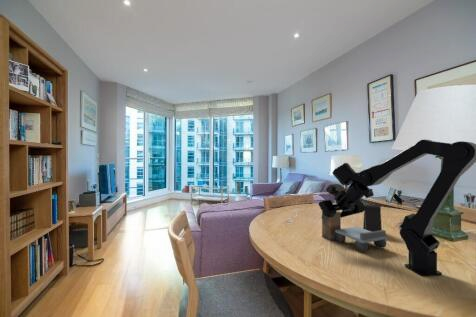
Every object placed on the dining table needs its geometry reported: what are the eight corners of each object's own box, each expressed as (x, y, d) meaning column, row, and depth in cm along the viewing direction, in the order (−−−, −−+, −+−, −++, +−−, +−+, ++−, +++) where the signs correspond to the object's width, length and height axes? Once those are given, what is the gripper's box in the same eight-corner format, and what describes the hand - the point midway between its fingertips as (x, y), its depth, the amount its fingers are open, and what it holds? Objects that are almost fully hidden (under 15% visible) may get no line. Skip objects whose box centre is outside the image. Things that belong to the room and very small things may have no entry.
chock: (340, 239, 99) (340, 212, 99) (330, 240, 97) (330, 213, 97) (331, 235, 104) (331, 209, 104) (322, 236, 102) (322, 210, 102)
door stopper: (382, 236, 102) (382, 207, 102) (365, 235, 104) (366, 206, 104) (378, 230, 110) (378, 203, 110) (363, 229, 112) (363, 202, 112)
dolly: (386, 249, 89) (386, 231, 88) (364, 253, 85) (364, 235, 84) (355, 237, 102) (355, 221, 101) (334, 240, 98) (334, 224, 97)
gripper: (359, 176, 99) (338, 199, 109) (321, 179, 92) (303, 203, 102) (376, 199, 91) (353, 222, 102) (337, 203, 85) (316, 227, 95)
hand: (331, 217), depth 100 cm, fingers open, 9 cm apart
